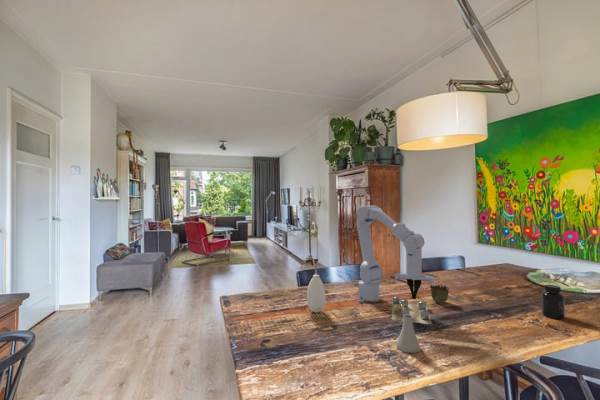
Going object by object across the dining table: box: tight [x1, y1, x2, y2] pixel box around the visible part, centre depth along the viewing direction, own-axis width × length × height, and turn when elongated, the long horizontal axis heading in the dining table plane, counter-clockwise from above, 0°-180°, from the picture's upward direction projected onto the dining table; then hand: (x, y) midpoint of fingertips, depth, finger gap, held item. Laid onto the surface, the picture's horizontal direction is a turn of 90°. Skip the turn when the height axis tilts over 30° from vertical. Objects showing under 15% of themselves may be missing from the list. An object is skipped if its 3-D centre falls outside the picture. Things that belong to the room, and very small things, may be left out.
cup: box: [429, 284, 450, 305], centre depth 126 cm, size 8×7×8 cm
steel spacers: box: [392, 295, 430, 320], centre depth 116 cm, size 13×16×3 cm
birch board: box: [391, 302, 433, 325], centre depth 115 cm, size 14×19×1 cm
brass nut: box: [394, 304, 404, 313], centre depth 116 cm, size 4×4×2 cm
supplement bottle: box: [541, 284, 566, 320], centre depth 113 cm, size 7×7×12 cm
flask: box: [396, 314, 422, 354], centre depth 90 cm, size 7×7×10 cm
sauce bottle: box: [306, 270, 327, 314], centre depth 119 cm, size 8×8×18 cm
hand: (413, 298), depth 114 cm, fingers closed
